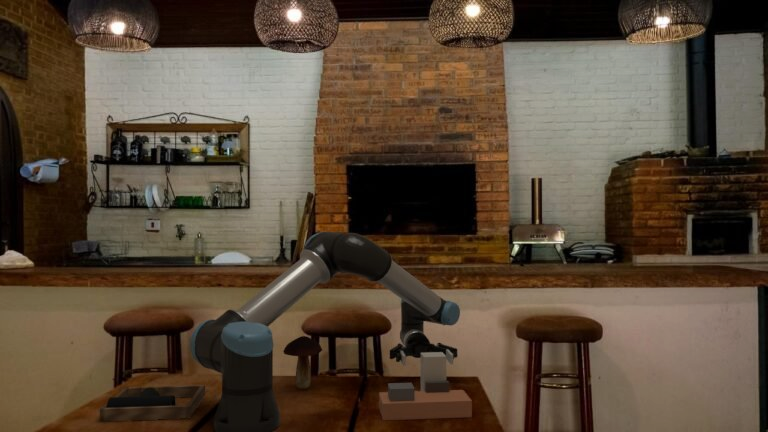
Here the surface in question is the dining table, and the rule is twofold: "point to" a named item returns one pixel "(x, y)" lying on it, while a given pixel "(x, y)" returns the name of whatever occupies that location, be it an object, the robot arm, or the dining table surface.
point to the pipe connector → (143, 399)
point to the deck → (423, 402)
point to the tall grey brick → (432, 367)
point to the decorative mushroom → (303, 358)
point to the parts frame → (155, 411)
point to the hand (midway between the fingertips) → (428, 360)
